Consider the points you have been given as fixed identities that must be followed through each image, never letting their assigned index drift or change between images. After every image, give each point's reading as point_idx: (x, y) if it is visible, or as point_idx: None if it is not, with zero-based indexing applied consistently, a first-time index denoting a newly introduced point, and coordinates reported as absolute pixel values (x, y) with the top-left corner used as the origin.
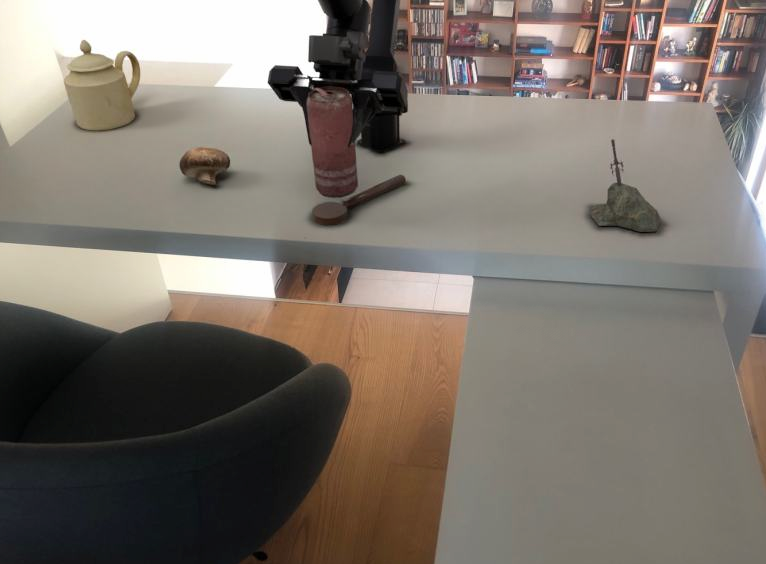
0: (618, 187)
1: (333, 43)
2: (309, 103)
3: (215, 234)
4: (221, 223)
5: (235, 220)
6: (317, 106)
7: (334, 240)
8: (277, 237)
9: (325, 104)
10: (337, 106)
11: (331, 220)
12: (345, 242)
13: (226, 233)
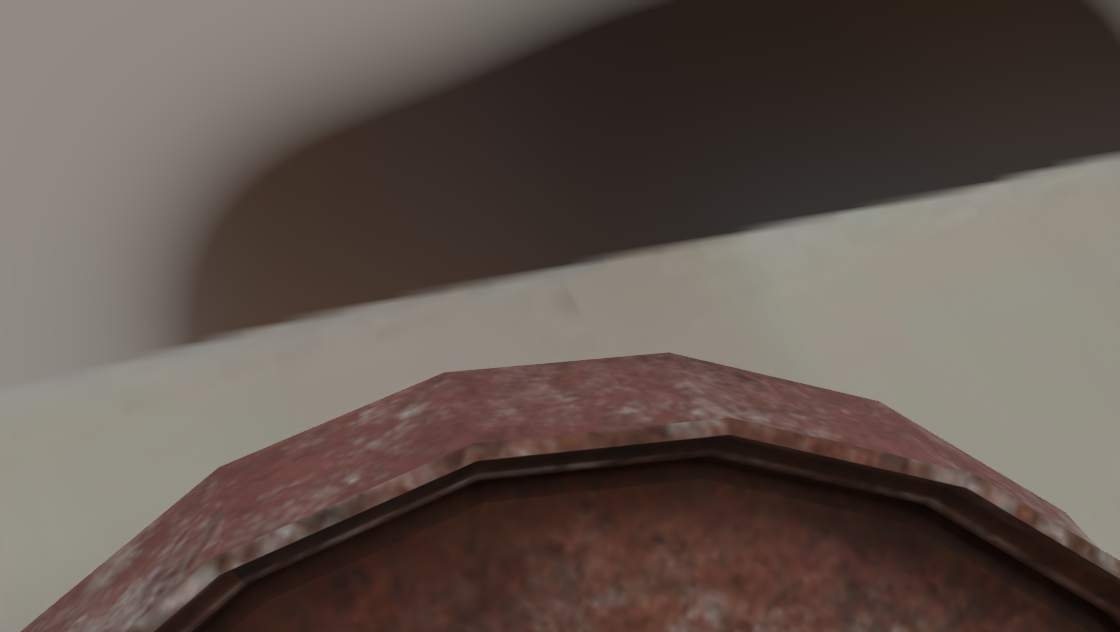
0: None
1: None
2: (1053, 517)
3: (1049, 173)
4: (1096, 289)
5: (1048, 347)
6: (704, 384)
7: (386, 335)
8: (722, 254)
9: (429, 426)
10: (42, 624)
11: None
12: (310, 336)
13: (1004, 201)
